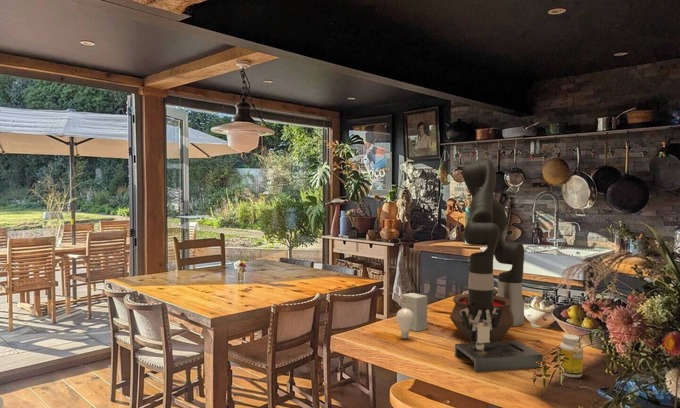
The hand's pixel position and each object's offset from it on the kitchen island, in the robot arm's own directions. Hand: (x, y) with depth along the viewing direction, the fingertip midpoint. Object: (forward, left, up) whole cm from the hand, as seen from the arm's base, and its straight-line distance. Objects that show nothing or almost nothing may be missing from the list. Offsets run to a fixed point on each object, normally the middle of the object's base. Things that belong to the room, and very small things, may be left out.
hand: (480, 341), depth 145 cm
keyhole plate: (-6, 0, -7) cm, 9 cm away
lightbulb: (+15, -27, -7) cm, 32 cm away
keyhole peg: (0, 0, -6) cm, 6 cm away
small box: (+7, -39, -7) cm, 40 cm away
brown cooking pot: (-14, -25, -7) cm, 29 cm away
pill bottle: (-22, +13, -7) cm, 26 cm away
